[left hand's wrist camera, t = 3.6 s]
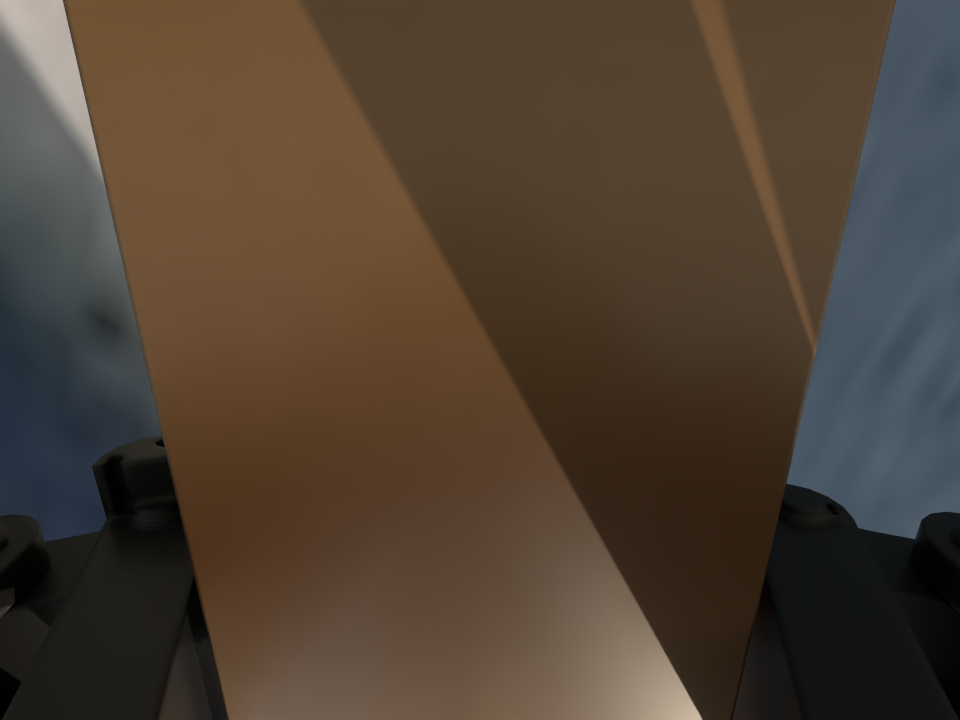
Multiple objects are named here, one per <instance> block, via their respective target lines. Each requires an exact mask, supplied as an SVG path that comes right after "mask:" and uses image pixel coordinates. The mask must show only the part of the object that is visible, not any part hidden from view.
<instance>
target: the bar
mask: <svg viewBox="0 0 960 720" xmlns="http://www.w3.org/2000/svg"><path fill="white" fill-rule="evenodd" d="M895 2H896V0H63V3H64V7H65V12H66V16H67V20H68V25H69V29H70V34H71V38H72V42H73V47H74V51H75V55H76V60H77V64H78V69H79V73H80V77H81V82H82V86H83V91H84V95H85V99H86V104H87V108H88V113H89V117H90V121H91V126H92V130H93V134H94V139H95V143H96V148H97V152H98V156H99V161H100V165H101V170H102V174H103V178H104V183H105V187H106V191H107V196H108V200H109V205H110V209H111V213H112V218H113V222H114V227H115V231H116V235H117V240H118V244H119V248H120V253H121V257H122V262H123V266H124V270H125V275H126V279H127V284H128V288H129V292H130V297H131V301H132V305H133V310H134V314H135V319H136V323H137V327H138V332H139V336H140V341H141V345H142V349H143V354H144V358H145V363H146V367H147V371H148V376H149V380H150V384H151V389H152V393H153V398H154V402H155V406H156V411H157V415H158V420H159V424H160V428H161V433H162V437H163V441H164V446H165V450H166V455H167V459H168V463H169V468H170V472H171V477H172V481H173V485H174V490H175V494H176V498H177V503H178V507H179V512H180V516H181V520H182V525H183V529H184V534H185V538H186V542H187V547H188V551H189V556H190V560H191V564H192V569H193V573H194V577H195V582H196V586H197V591H198V595H199V599H200V604H201V608H202V613H203V617H204V621H205V626H206V630H207V634H208V639H209V643H210V648H211V652H212V656H213V661H214V665H215V670H216V674H217V678H218V683H219V687H220V691H221V696H222V700H223V705H224V709H225V713H226V718H227V720H732V719H733V715H734V710H735V706H736V702H737V697H738V693H739V688H740V684H741V680H742V675H743V671H744V666H745V662H746V658H747V653H748V649H749V644H750V640H751V636H752V631H753V627H754V622H755V618H756V614H757V609H758V605H759V600H760V596H761V592H762V587H763V583H764V578H765V574H766V570H767V565H768V561H769V556H770V552H771V548H772V543H773V539H774V534H775V530H776V526H777V521H778V517H779V512H780V508H781V504H782V499H783V495H784V490H785V486H786V482H787V477H788V473H789V468H790V464H791V460H792V455H793V451H794V446H795V442H796V438H797V433H798V429H799V424H800V420H801V416H802V411H803V407H804V402H805V398H806V394H807V389H808V385H809V380H810V376H811V372H812V367H813V363H814V358H815V354H816V350H817V345H818V341H819V336H820V332H821V328H822V323H823V319H824V314H825V310H826V306H827V301H828V297H829V292H830V288H831V284H832V279H833V275H834V270H835V266H836V262H837V257H838V253H839V248H840V244H841V240H842V235H843V231H844V226H845V222H846V218H847V213H848V209H849V204H850V200H851V196H852V191H853V187H854V182H855V178H856V174H857V169H858V165H859V160H860V156H861V152H862V147H863V143H864V138H865V134H866V130H867V125H868V121H869V116H870V112H871V108H872V103H873V99H874V94H875V90H876V86H877V81H878V77H879V72H880V68H881V64H882V59H883V55H884V50H885V46H886V42H887V37H888V33H889V28H890V24H891V20H892V15H893V11H894V6H895Z"/></svg>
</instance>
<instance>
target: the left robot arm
mask: <svg viewBox="0 0 960 720" xmlns="http://www.w3.org/2000/svg"><path fill="white" fill-rule="evenodd" d="M92 468H93V472H94V475H95V479H96V482H97V486H98V489H99V493H100V496H101V500H102V503H103V507H104V510H105V514H106V517H107V520H106V522H105V524H104V526H103V528H102V530H101V531H98V532H94V533H90V534H85V535H79V536H74V537H69V538H64V539H58V540H53V541H48V542H45V540H44V537H43V534H42V531H41V528H40V525H39V523H38V522H37V521H36V520H34V519H33V518H31V517H30V516H22V515H6V516H0V720H227V718H226V713H225V709H224V705H223V700H222V696H221V691H220V687H219V683H218V678H217V674H216V670H215V665H214V661H213V656H212V652H211V648H210V643H209V639H208V634H207V630H206V626H205V621H204V617H203V613H202V608H201V604H200V599H199V595H198V591H197V586H196V582H195V577H194V573H193V569H192V564H191V560H190V556H189V551H188V547H187V542H186V538H185V534H184V529H183V525H182V520H181V516H180V512H179V507H178V503H177V498H176V494H175V490H174V485H173V481H172V477H171V472H170V468H169V463H168V459H167V455H166V450H165V446H164V441H163V437H162V436H157V437H152V438H147V439H142V440H138V441H135V442H132V443H129V444H126V445H123V446H121V447H118V448H116V449H115V450H113V451H111V452H109V453H107V454H106V455H104V456H102V457H101V458H100V459H99V460H98V461H97V462H96V463H95V464H94V465H93V466H92ZM732 720H960V513H952V512H941V513H932V514H929V515H928V516H927V517H925V518H924V519H922V521H921V524H920V527H919V529H918V532H917V535H916V538H915V539H910V538H905V537H900V536H894V535H889V534H884V533H879V532H873V531H868V530H864V529H860V528H858V527H857V525H856V523H855V521H854V519H853V518H852V516H851V515H850V514H849V513H848V512H847V511H846V509H845V508H844V507H843V506H841V505H840V504H838V503H837V502H835V501H833V500H832V499H830V498H829V497H827V496H825V495H822V494H820V493H817V492H815V491H813V490H810V489H807V488H803V487H798V486H794V485H790V484H786V486H785V490H784V495H783V499H782V504H781V508H780V512H779V517H778V521H777V526H776V530H775V534H774V539H773V543H772V548H771V552H770V556H769V561H768V565H767V570H766V574H765V578H764V583H763V587H762V592H761V596H760V600H759V605H758V609H757V614H756V618H755V622H754V627H753V631H752V636H751V640H750V644H749V649H748V653H747V658H746V662H745V666H744V671H743V675H742V680H741V684H740V688H739V693H738V697H737V702H736V706H735V710H734V715H733V719H732Z"/></svg>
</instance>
